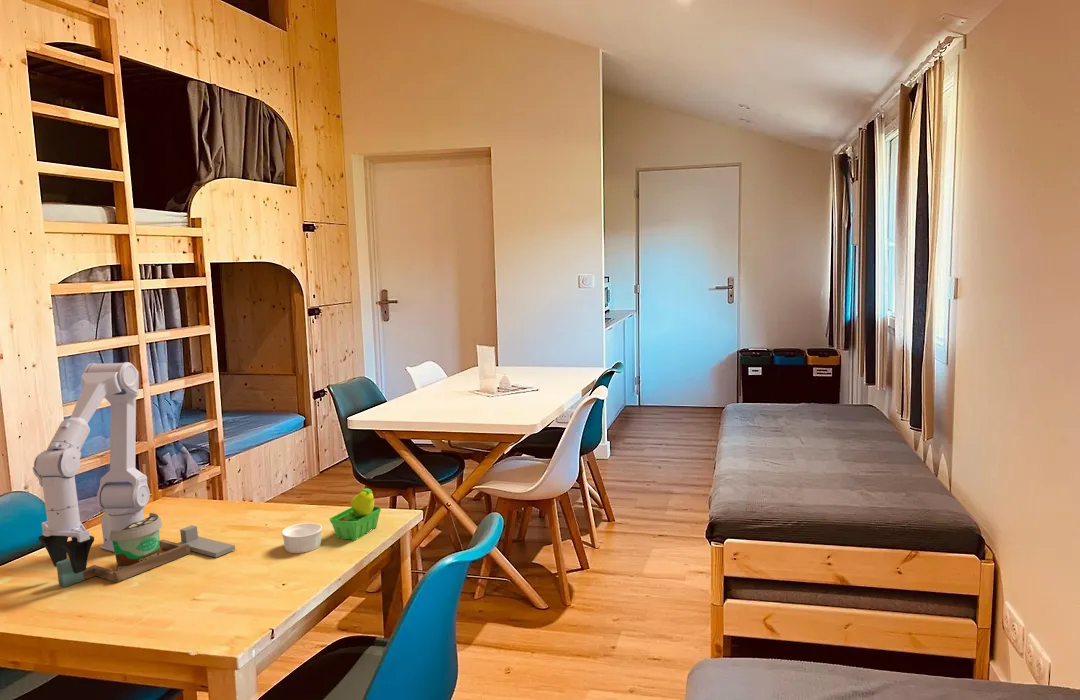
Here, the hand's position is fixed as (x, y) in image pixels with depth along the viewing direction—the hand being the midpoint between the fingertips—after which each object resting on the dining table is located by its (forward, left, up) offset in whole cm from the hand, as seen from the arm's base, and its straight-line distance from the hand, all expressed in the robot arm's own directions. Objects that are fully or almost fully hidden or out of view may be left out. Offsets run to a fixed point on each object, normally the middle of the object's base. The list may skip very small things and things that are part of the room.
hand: (70, 568), depth 158 cm
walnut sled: (+4, +10, -3) cm, 11 cm away
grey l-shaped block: (+10, +25, -3) cm, 27 cm away
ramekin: (+30, +36, -4) cm, 47 cm away
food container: (+6, +13, -4) cm, 15 cm away
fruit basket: (+36, +48, -4) cm, 60 cm away
